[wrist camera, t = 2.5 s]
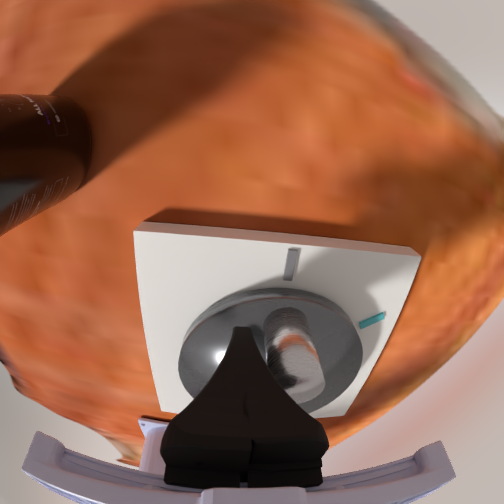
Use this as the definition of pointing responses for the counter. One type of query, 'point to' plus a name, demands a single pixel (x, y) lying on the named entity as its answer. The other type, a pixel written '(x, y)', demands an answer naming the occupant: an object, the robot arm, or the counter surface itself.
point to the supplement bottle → (39, 154)
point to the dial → (278, 343)
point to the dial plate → (260, 277)
